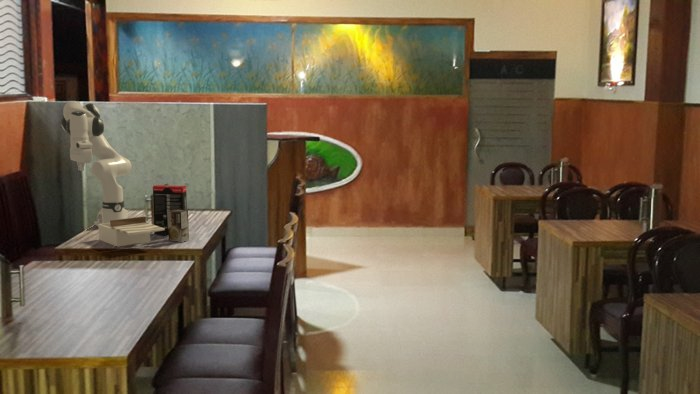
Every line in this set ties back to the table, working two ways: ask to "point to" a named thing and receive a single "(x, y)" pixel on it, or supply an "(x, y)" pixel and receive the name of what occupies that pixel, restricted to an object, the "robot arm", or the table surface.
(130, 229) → the box lid
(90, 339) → the table surface
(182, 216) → the coffee box
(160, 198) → the graphics card box
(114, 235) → the gift box base
